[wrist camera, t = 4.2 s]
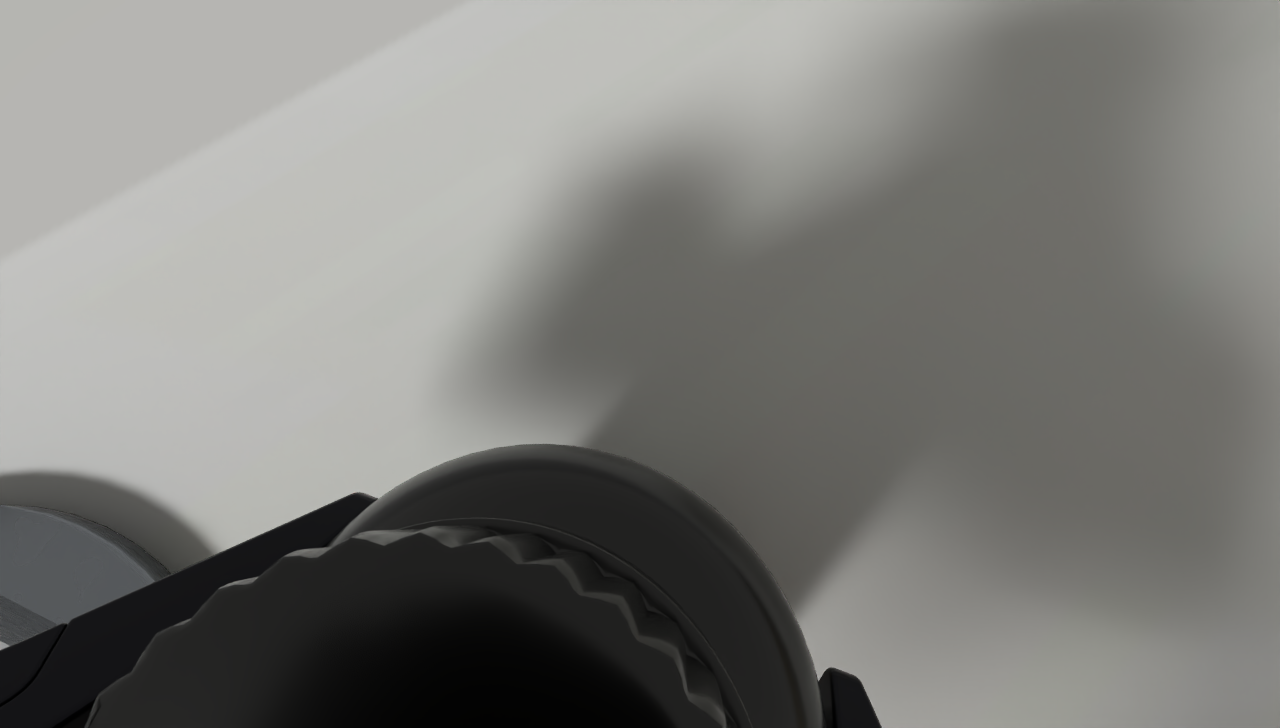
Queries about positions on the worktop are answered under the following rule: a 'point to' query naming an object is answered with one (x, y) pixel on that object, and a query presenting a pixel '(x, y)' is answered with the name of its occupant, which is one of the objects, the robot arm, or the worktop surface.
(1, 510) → the seat plate
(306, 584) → the supplement bottle
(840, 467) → the worktop surface
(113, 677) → the robot arm
